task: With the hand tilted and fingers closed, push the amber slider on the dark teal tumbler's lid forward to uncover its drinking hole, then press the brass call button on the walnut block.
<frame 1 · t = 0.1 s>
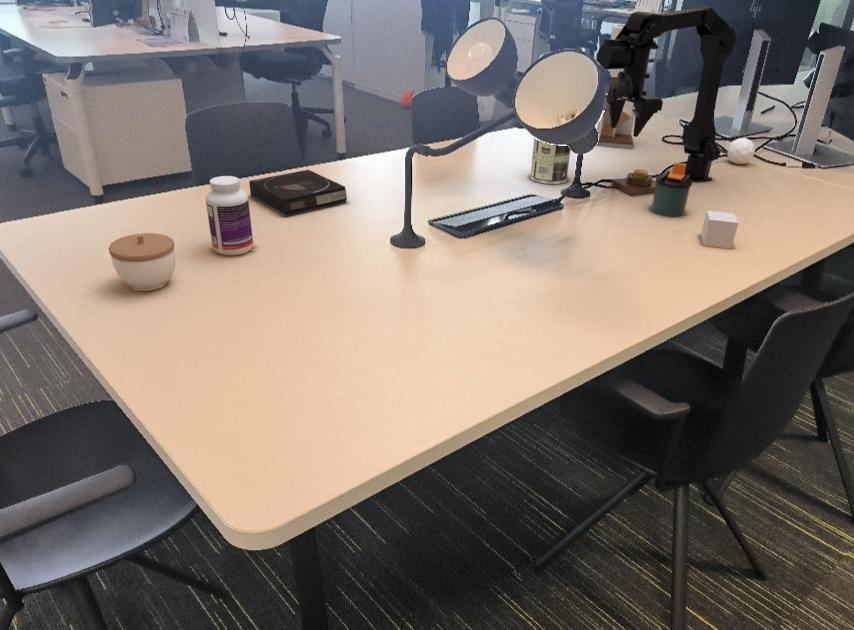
hand: (624, 132, 182), 15 cm above the table, tool pointing down, fingers open, 9 cm apart
coffee can: (548, 179, 193), on the table
white cube: (715, 242, 158), on the table
call button: (640, 174, 187), point 4 cm above the table, slide at 0.1 cm
portable cd player: (298, 201, 169), on the table
trinket box: (149, 284, 128), on the table
tumbler: (667, 211, 174), on the table
pill bottle: (233, 250, 143), on the table
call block: (637, 188, 189), on the table
geometric ball: (737, 164, 215), on the table
white pillar on base: (613, 143, 230), on the table
slider: (677, 171, 171), point 10 cm above the table, slide at 0.0 cm
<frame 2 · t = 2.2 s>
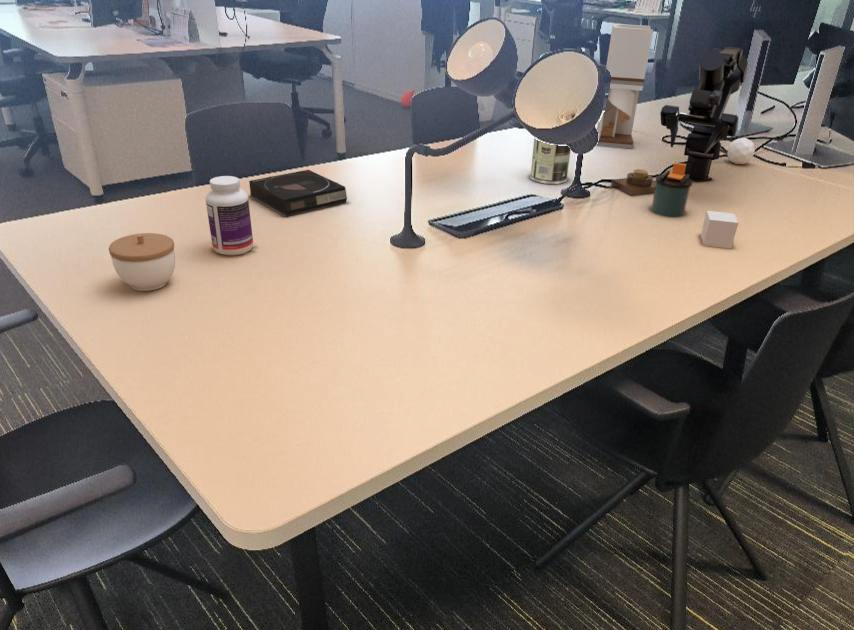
hand: (688, 149, 176), 13 cm above the table, tool tilted 45°, fingers open, 8 cm apart
nothing on the table moved.
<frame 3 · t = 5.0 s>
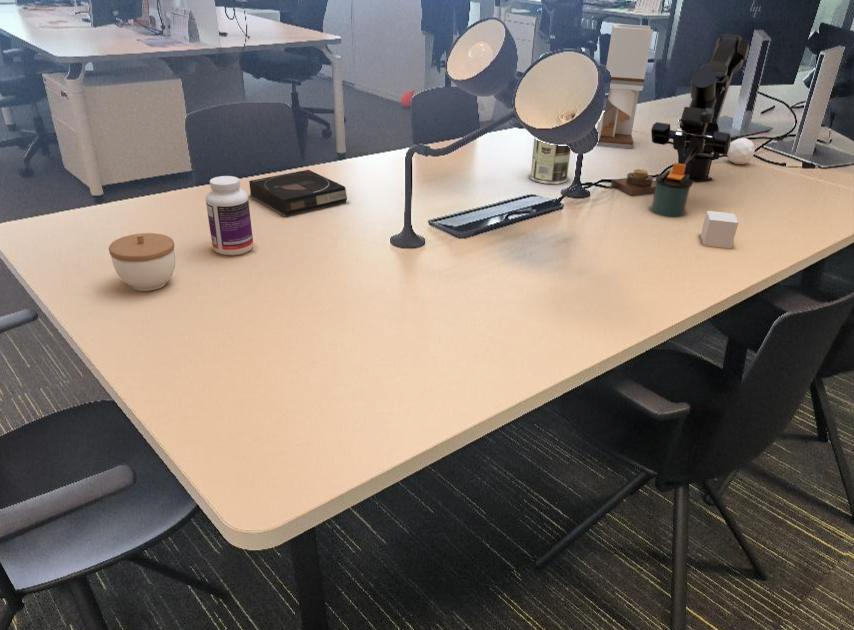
hand: (679, 167, 172), 10 cm above the table, tool tilted 45°, fingers closed, pressing on slider
slider: (677, 171, 170), point 10 cm above the table, slide at 0.3 cm, touching gripper
everything else where it was.
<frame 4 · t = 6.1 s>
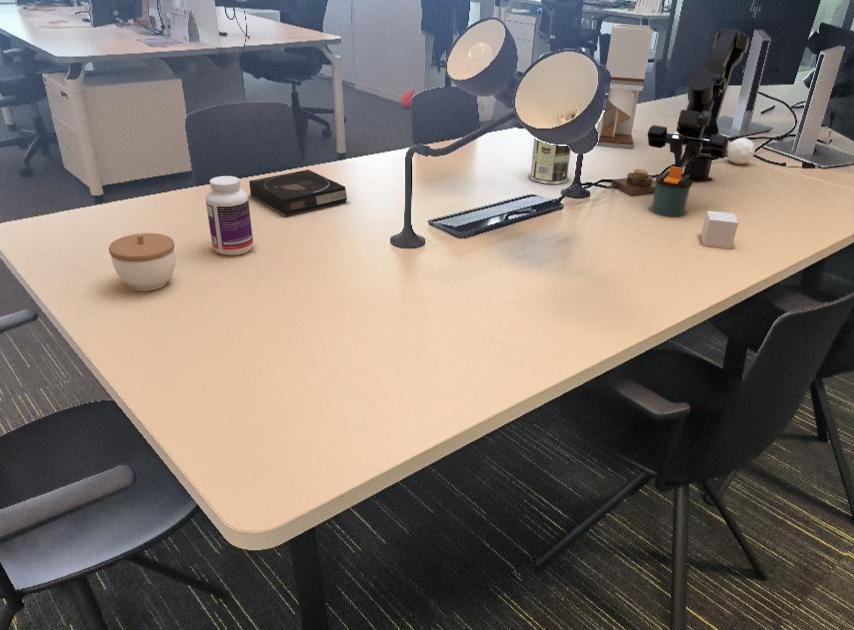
hand: (676, 171, 170), 10 cm above the table, tool tilted 45°, fingers closed, pressing on slider
slider: (673, 174, 168), point 10 cm above the table, slide at 3.7 cm, touching gripper
everything else where it was.
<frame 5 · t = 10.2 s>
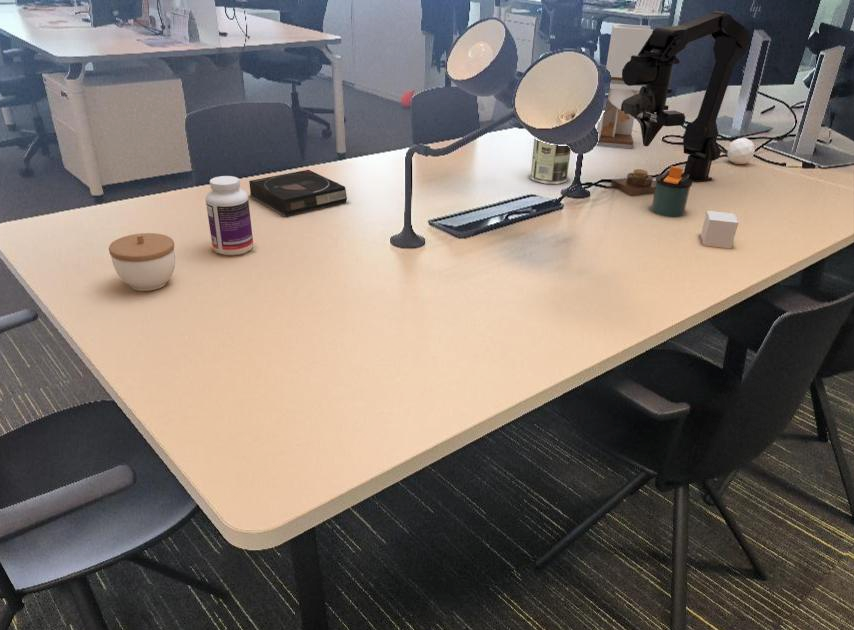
hand: (645, 146, 183), 11 cm above the table, tool pointing down, fingers closed
slider: (673, 174, 168), point 10 cm above the table, slide at 3.7 cm
everything else where it was.
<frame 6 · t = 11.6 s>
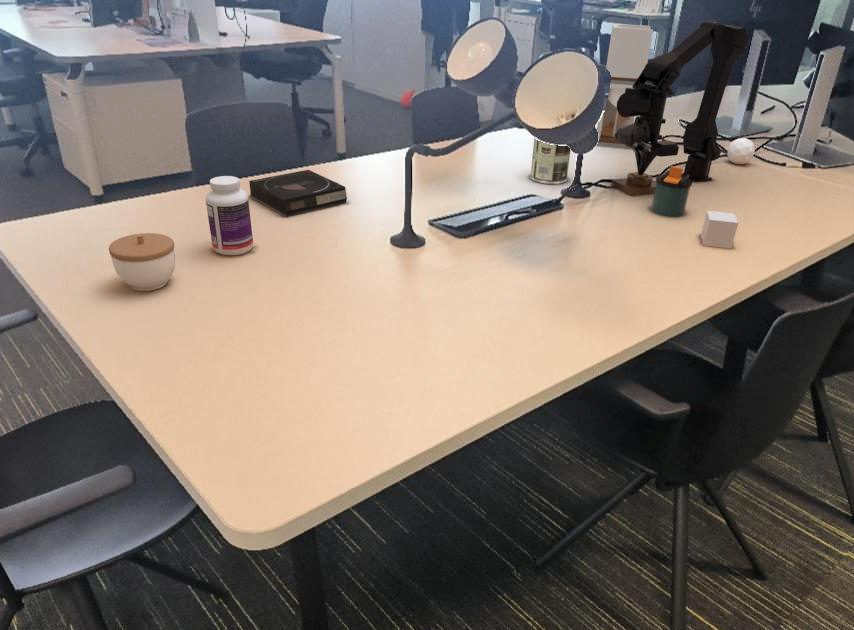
hand: (640, 173, 187), 4 cm above the table, tool pointing down, fingers closed, pressing on call button
call button: (639, 177, 187), point 3 cm above the table, slide at -0.7 cm, touching gripper
everything else where it was.
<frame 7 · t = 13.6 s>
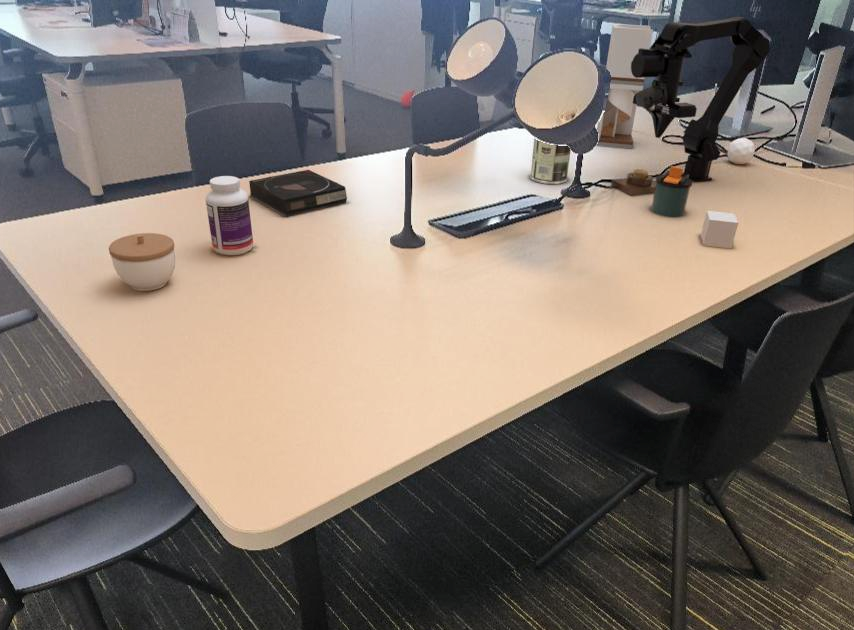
hand: (657, 137, 189), 12 cm above the table, tool pointing down, fingers closed
call button: (640, 174, 187), point 4 cm above the table, slide at 0.1 cm
everything else where it was.
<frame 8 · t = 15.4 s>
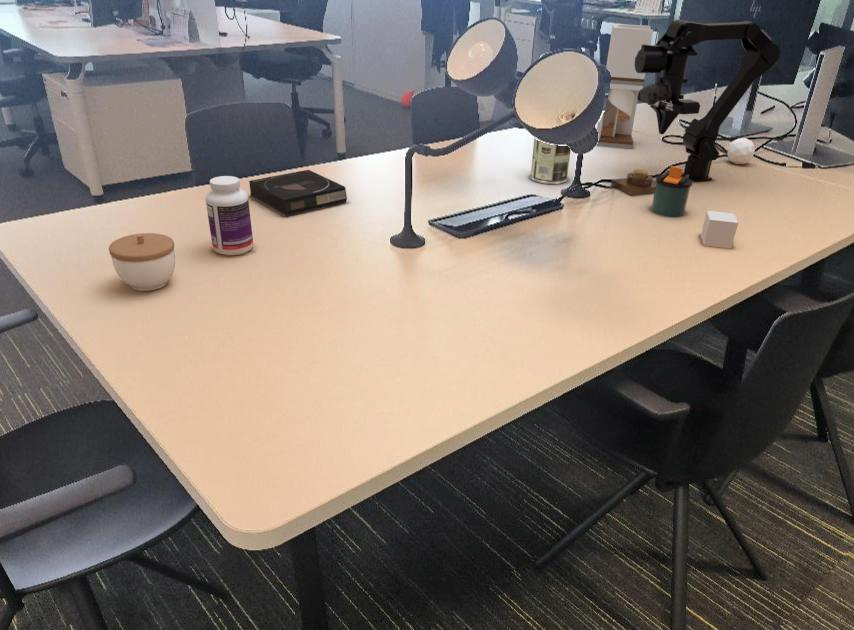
hand: (661, 133, 191), 13 cm above the table, tool pointing down, fingers closed
nothing on the table moved.
at the end: slider slide at 3.7 cm; call button pushed in 0.9 cm at the most during the clip, back to where it started at the end; call button slide at 0.1 cm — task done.
